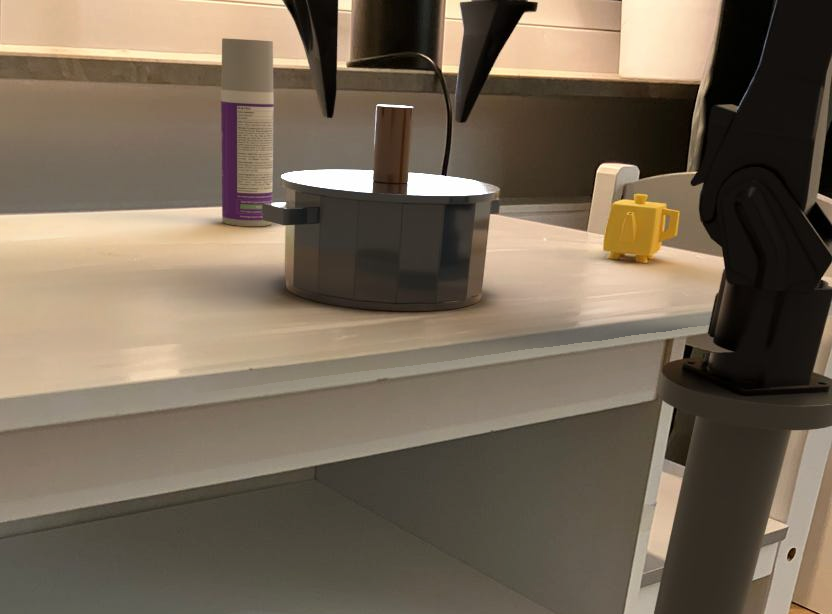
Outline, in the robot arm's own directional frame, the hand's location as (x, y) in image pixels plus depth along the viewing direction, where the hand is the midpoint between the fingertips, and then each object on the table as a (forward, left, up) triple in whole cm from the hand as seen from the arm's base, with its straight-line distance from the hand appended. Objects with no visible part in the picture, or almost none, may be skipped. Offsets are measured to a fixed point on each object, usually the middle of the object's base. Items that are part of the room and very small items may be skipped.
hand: (395, 120), depth 68 cm
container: (+32, +2, -11) cm, 34 cm away
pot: (0, 0, -11) cm, 11 cm away
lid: (0, 0, -4) cm, 4 cm away
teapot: (+12, -28, -11) cm, 32 cm away
